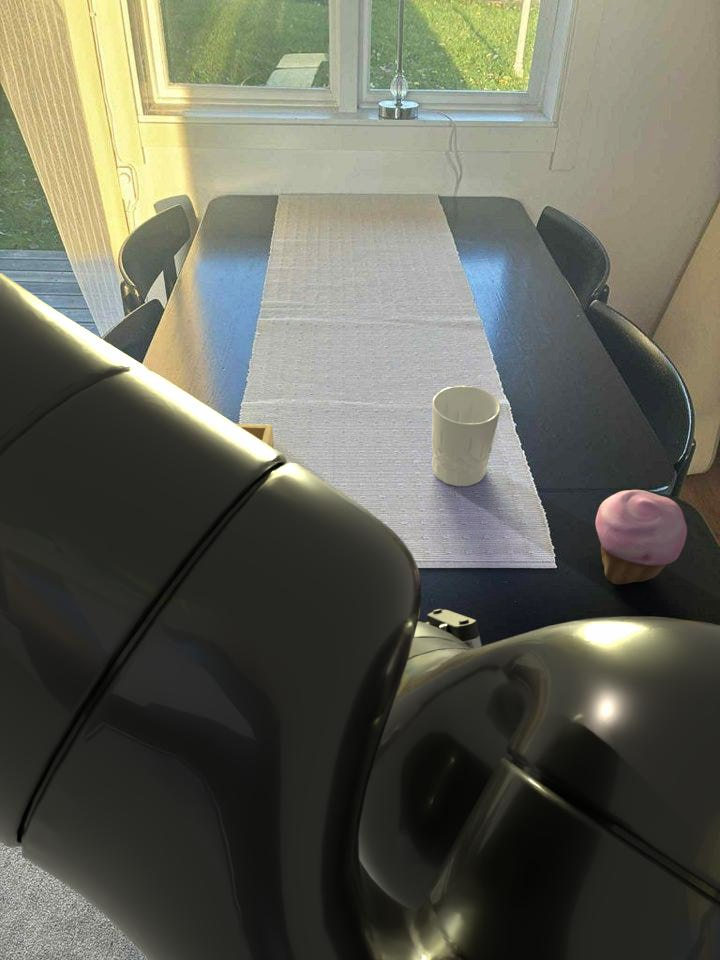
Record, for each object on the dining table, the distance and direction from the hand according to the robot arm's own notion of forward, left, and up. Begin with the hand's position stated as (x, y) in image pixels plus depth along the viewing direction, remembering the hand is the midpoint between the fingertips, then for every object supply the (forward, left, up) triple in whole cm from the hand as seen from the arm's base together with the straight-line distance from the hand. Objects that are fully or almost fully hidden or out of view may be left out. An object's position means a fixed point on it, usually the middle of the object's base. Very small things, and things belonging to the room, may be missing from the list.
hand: (316, 652), depth 43 cm
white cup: (+13, +43, -21) cm, 49 cm away
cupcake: (+30, +27, -21) cm, 45 cm away
